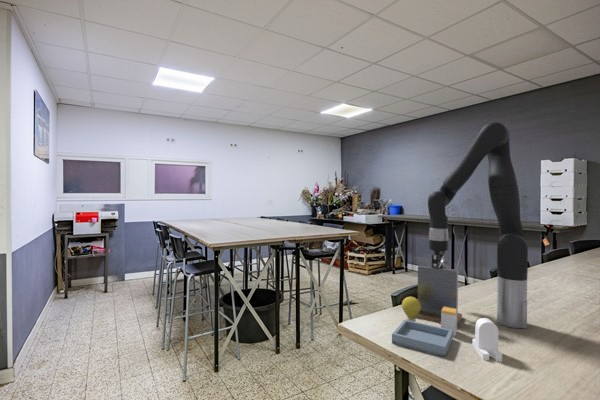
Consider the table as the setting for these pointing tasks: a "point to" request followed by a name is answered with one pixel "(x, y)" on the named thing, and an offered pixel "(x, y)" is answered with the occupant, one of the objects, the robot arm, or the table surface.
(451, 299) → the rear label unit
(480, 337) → the cable organizer
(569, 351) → the table surface
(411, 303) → the light bulb
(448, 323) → the cartridge
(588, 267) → the table surface
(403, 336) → the tray
